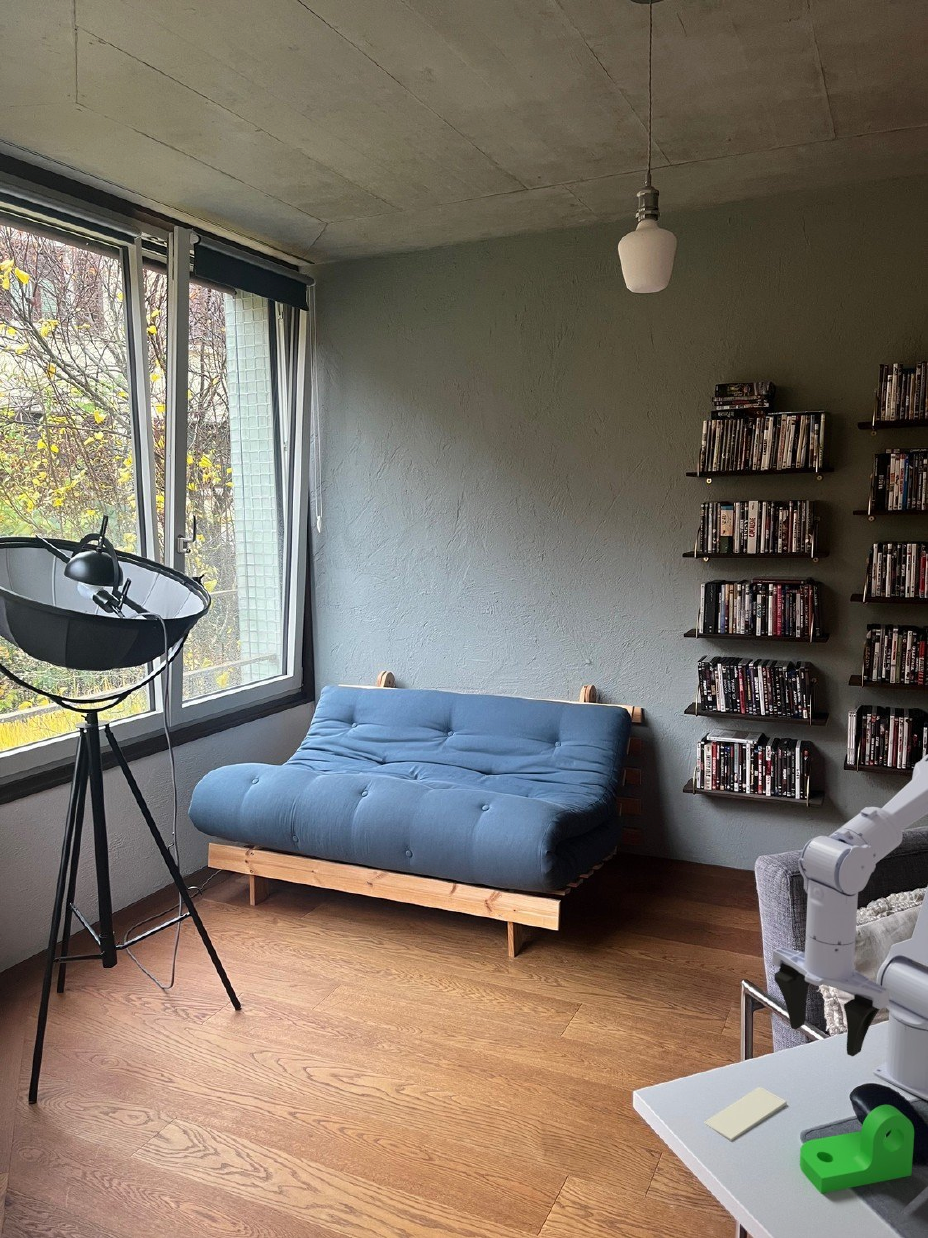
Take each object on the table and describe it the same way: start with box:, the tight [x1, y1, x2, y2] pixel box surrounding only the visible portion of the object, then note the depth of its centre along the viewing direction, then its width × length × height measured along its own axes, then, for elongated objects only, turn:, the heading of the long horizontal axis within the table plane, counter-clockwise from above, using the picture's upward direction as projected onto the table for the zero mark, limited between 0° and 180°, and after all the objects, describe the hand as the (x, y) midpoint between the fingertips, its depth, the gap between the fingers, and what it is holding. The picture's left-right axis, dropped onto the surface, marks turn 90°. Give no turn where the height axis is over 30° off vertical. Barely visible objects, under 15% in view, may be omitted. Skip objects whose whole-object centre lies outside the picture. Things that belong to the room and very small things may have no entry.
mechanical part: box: [799, 1104, 915, 1194], centre depth 109 cm, size 12×6×8 cm, turn 105°
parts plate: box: [703, 1086, 788, 1142], centre depth 118 cm, size 12×4×1 cm, turn 129°
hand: (825, 1039), depth 118 cm, fingers open, 7 cm apart
